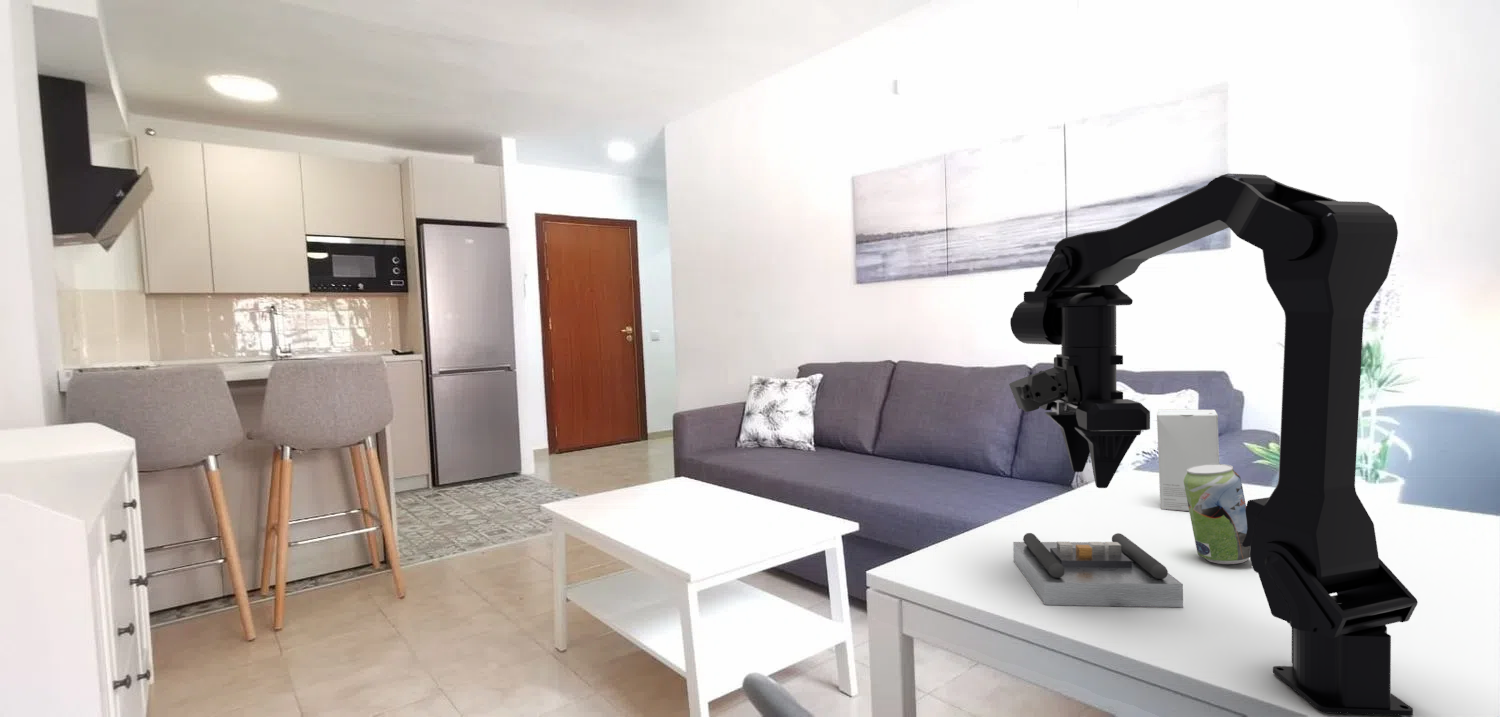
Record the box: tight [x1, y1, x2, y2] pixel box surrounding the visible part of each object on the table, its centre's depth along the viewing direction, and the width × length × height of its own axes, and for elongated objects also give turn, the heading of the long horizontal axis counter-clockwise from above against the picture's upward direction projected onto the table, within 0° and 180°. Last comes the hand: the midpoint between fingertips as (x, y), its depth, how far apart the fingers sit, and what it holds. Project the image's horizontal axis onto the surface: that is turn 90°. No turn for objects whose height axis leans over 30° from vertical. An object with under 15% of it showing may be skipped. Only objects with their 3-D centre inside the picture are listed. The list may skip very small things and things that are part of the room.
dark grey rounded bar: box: [1022, 532, 1065, 578], centre depth 81 cm, size 13×2×2 cm, turn 172°
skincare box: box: [1156, 408, 1220, 512], centre depth 110 cm, size 8×7×16 cm
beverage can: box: [1184, 463, 1250, 565], centre depth 86 cm, size 6×7×12 cm
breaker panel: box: [1012, 541, 1184, 608], centre depth 81 cm, size 14×14×4 cm
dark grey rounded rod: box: [1111, 532, 1169, 579], centre depth 80 cm, size 13×2×2 cm, turn 172°
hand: (1089, 479), depth 80 cm, fingers open, 8 cm apart
